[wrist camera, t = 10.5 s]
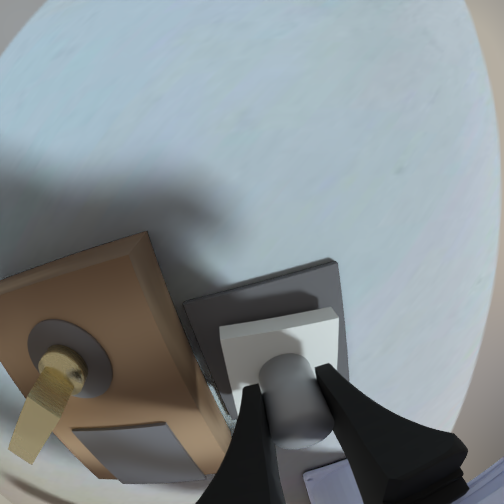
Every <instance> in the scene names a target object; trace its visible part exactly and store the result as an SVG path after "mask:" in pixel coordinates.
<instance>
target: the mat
mask: <svg viewBox="0 0 504 504" xmlns="http://www.w3.org/2000/svg"><path fill="white" fill-rule="evenodd" d="M183 306H184V308H185V311H186V313H187V316H188V319H189V321H190V324H191V326H192V329H193V331H194V334H195V336H196V339H197V341H198V344H199V346H200V349H201V351H202V353H203V356H204V358H205V360H206V363H207V365H208V368H209V370H210V372H211V374H212V377H213V379H214V381H215V384H216V386H217V388H218V390H219V392H220V395H221V397H222V399H223V401H224V403H225V406H226V408H227V410H228V412H229V414H230V416H231V418H232V420H235V419H238V414H237V410H236V406H235V402H234V398H233V394H232V389H231V385H230V381H229V377H228V373H227V368H226V364H225V359H224V355H223V351H222V346H221V341H220V329H219V327H220V326H226V325H233V324H239V323H245V322H252V321H258V320H263V319H269V318H275V317H281V316H286V315H291V314H297V313H302V312H307V311H312V310H317V309H322V308H327V307H332V309H333V310H334V312H335V313H336V314H337V316H338V317H339V333H338V358H337V371H338V372H339V373H340V374H341V375H342V376H343V377H344V378H345V379H346V380H347V381H348V382H349V369H348V355H347V342H346V331H345V321H344V311H343V302H342V293H341V284H340V276H339V269H338V263H337V262H336V261H333V262H330V263H327V264H323V265H320V266H316V267H313V268H309V269H305V270H302V271H298V272H295V273H291V274H288V275H284V276H280V277H277V278H273V279H269V280H266V281H262V282H258V283H255V284H251V285H247V286H243V287H240V288H236V289H232V290H228V291H224V292H220V293H217V294H213V295H209V296H205V297H201V298H197V299H193V300H189V301H185V302H184V304H183Z"/></svg>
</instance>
